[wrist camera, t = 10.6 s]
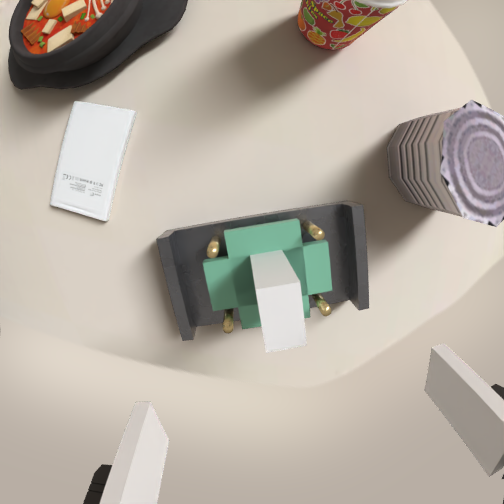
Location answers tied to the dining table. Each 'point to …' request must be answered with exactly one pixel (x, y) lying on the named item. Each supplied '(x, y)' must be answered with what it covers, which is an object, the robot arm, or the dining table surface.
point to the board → (239, 271)
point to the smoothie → (341, 19)
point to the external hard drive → (91, 158)
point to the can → (452, 162)
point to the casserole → (82, 38)
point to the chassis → (212, 234)
